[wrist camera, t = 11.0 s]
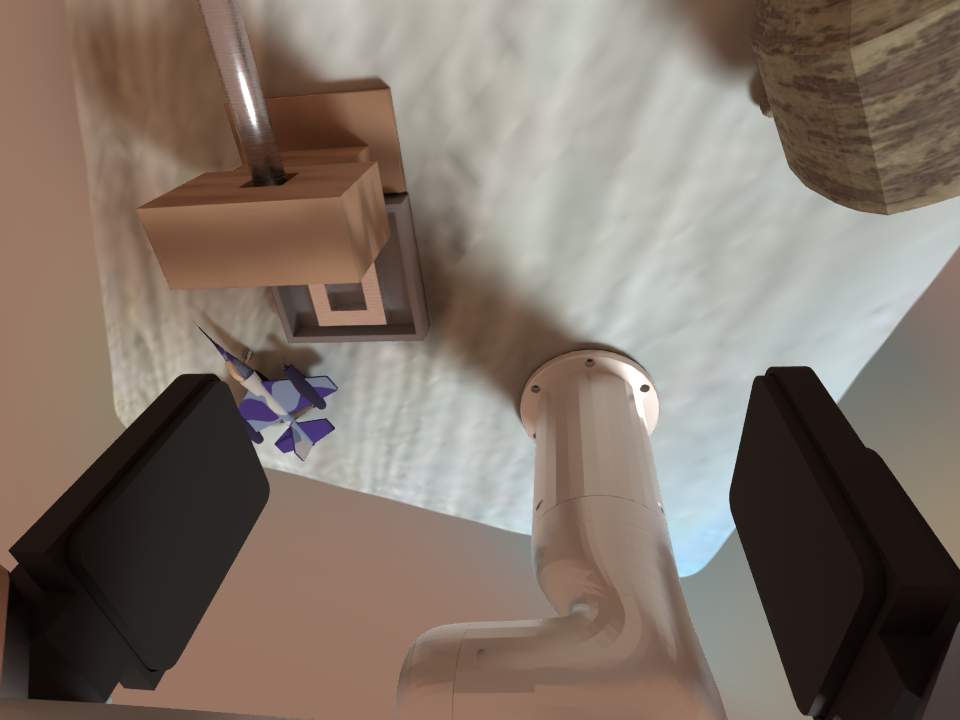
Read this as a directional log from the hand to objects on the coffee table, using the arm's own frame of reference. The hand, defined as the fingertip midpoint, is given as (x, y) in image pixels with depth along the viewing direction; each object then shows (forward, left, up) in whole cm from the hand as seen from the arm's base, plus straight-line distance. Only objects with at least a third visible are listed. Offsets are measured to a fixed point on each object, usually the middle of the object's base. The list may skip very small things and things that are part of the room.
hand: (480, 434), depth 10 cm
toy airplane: (-23, +26, -35) cm, 49 cm away
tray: (-11, +16, -34) cm, 39 cm away
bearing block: (-2, +16, -34) cm, 38 cm away
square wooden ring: (-10, +16, -33) cm, 38 cm away
